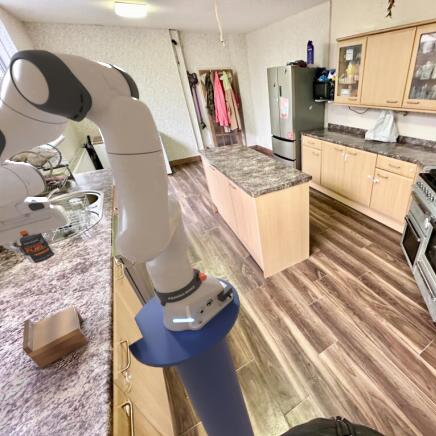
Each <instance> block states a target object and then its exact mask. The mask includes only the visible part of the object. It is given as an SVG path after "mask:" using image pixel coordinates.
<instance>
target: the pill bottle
mask: <svg viewBox="0 0 436 436" xmlns="http://www.w3.org/2000/svg"><path fill="white" fill-rule="evenodd" d="M19 233H20V234H21V235H22V236H23V237H22V238H20V239H19V240H17V241H14V242H15V243H16V245H17V246H18V247H20V249H21V250H22V252H23V253H22V254H24V256H25V257H26V259H27V260H28V261H29V263H31V264H40V263H43V262H45V261H47V260H50V259H51V258H53V257H54V256H55V251H54V250H53V249H52V247H51V245H50V244H49V245H48V244H47V242H46V241H45V239H46V237H44V235H43V233H40V234H36V235H28V232H27V231H26V230H25V231H21V232H19Z"/></svg>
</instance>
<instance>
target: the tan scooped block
mask: <svg viewBox="0 0 436 436" xmlns="http://www.w3.org/2000/svg"><path fill="white" fill-rule="evenodd" d="M82 322H84V318H83V316H82V314H81V313H80V311H78V309H77V307H76V306H75V304H73V305H71V306H69V307H67V308H65V309H63V310H60V311H58V312H56V313H53V314H52V315H49V316H47V317H45V318H43V319H41V320H39V321H36V322H33V321H32V320H31V319H30V318H29V319H26V320H24V321H23V339H22V350H23V351H24V353H25V354H26V355H27V356H28V357H29V358H30V359H31V360H32V361H33V362H34V364H36V366H38V367H39V368H40V369H43V368H45V367H46V366H48V365H50V364H52V363H54V362H55V361H57V360H59V359H61V358H63V357H65V356H67V355H68V354H70V353H72V352H74V351H76V350H77V349H78V348H81V347H82V346H84V345H87V344H88V343H89V339H88V337H87V336H86V335H85V333H84V331H83V330H82V329H81V325H80V323H82Z"/></svg>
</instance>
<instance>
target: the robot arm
mask: <svg viewBox="0 0 436 436" xmlns="http://www.w3.org/2000/svg"><path fill="white" fill-rule="evenodd" d="M84 119H87V120H89V121H90V122H92V123H93V124H94V125H95V126H96V127H97V129H98V130H99V132H100V135H101V138H102V142H103V146H104V150H105V153H106V156H107V159H108V163H109V167H110V170H111V173H112V177H113V180H114V184H115V191H116V203H117V207H116V208H117V232H116V237H115V242H114V243H115V244H114V245H115V248H116V250H117V253H118V254H119V255H121V256H122V257H123V259H124V258H125V260H128V261H130V262H134V263H145V268H146V271H147V273H148V275H149V278H150V280H151V282H152V285H153V291H154V296H156V297H157V299H158V301H159V303H160V304H161V306H162V310H163V323H164V325H165V327H166V328H167V329H169V330H172V331H183V330H189V329H190V330H199V329H201V328H202V327H203V326H204V325H205V324H206V323H207V322H208V321H210V320H211V319H212V318H213V317H214V316H215V315H216V314H217V313H218V312H220V311H221V310H222V309H223V308H224V307H225V306H226V305H227V304H229V303H230V302H231V301H232V300H233V294H232V292H233V290H232V287H230V286H228V285H226V284H224V283H223V282H221V281H219V280H218V279H216V278H217V277H215V276H214V275H211V274H205V273H204V272H201V271H200V269H198V268H196V267H195V266H193V265H192V263H191V260H190V257H189V253H188V249H187V241H186V234H185V233H186V232H185V226H184V222H183V214H182V213H183V212H182V205H181V203H180V201H179V200H178V199H177V198H176V197H174V196H172V195H170V194H169V183H170V181H169V175H168V171H167V165H166V160H165V155H164V150H163V145H162V141H161V137H160V134H159V130H158V127H157V124H156V122H155V119H154V116H153V114H152V111H151V109H150V108H149V105H147V104H146V103H145V102H144V101H142V100H141V99H140V91H139V88H138V85H137V83H136V81H135V80H134V78H133V77H132V76H131V75H130V74H129V73H128V72H127V71H125V70H124V69H122V68H120V67H118V66H116V65H114V64H110V63H107V62H106V63H105V62H104V63H103V62H100V61H97V60H93V59H90V58H86V57H84V56H81V55H76V54H71V53H61V52H50V51H48V50H45V49H25V50H23V49H22V50H19V51H17V52H15V53H13V55H12V56H11V57H10V61H9V64H8V66H7V68H6V69H5V71H4V74H3V76H2V78H1V81H0V246H2V247H3V248H4V249H6V250H9V251H12V252H13V253H14V254H15V256H18V255H21V254H24V253H23V252H22V250H21V249H20V247H19V246H18V247H16V246H13V245H12V243H13V242H15V241H17V240H19V239H20V238H22V237H23V236H22V235H21V234H20V233H19V232H21V231H25V230H26V231H27V232H28V235H36V234H40V233H41V234H44V233H45V234H46V235H48V237H45V241H46V242H47V244H48V245H49V246H50V245H51V244H54V243H55V241H54V239H53V230H56V229H59V228H62V227H66V226H67V225H68V219H67V217H66V216H65V214H64V213H63V212H62V211H61V209H59V207H58V206H56V205H54V204H52V203H51V200H50V199H49V198H47V197H35V196H38V195H40V194H42V193H44V192H45V191H46V189H47V181H46V178H45V176H44V173H42V172H41V171H40V170H39V169H38V168H37V167H35V166H33V165H31V164H30V163H26V162H15V161H10V160H9V159H11V158H12V157H14V156H16V155H18V154H20V153H23V152H26V151H28V150H32V149H34V148H38V147H41V146H45V145H47V144H50V143H53V142H55V141H56V140H58V139H59V138H60V137H61V136H62V135H63V134H64V132H65V131H66V129H67V127H68V124H69V121H73V122H77V123H80V122H82V121H83V120H84Z"/></svg>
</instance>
